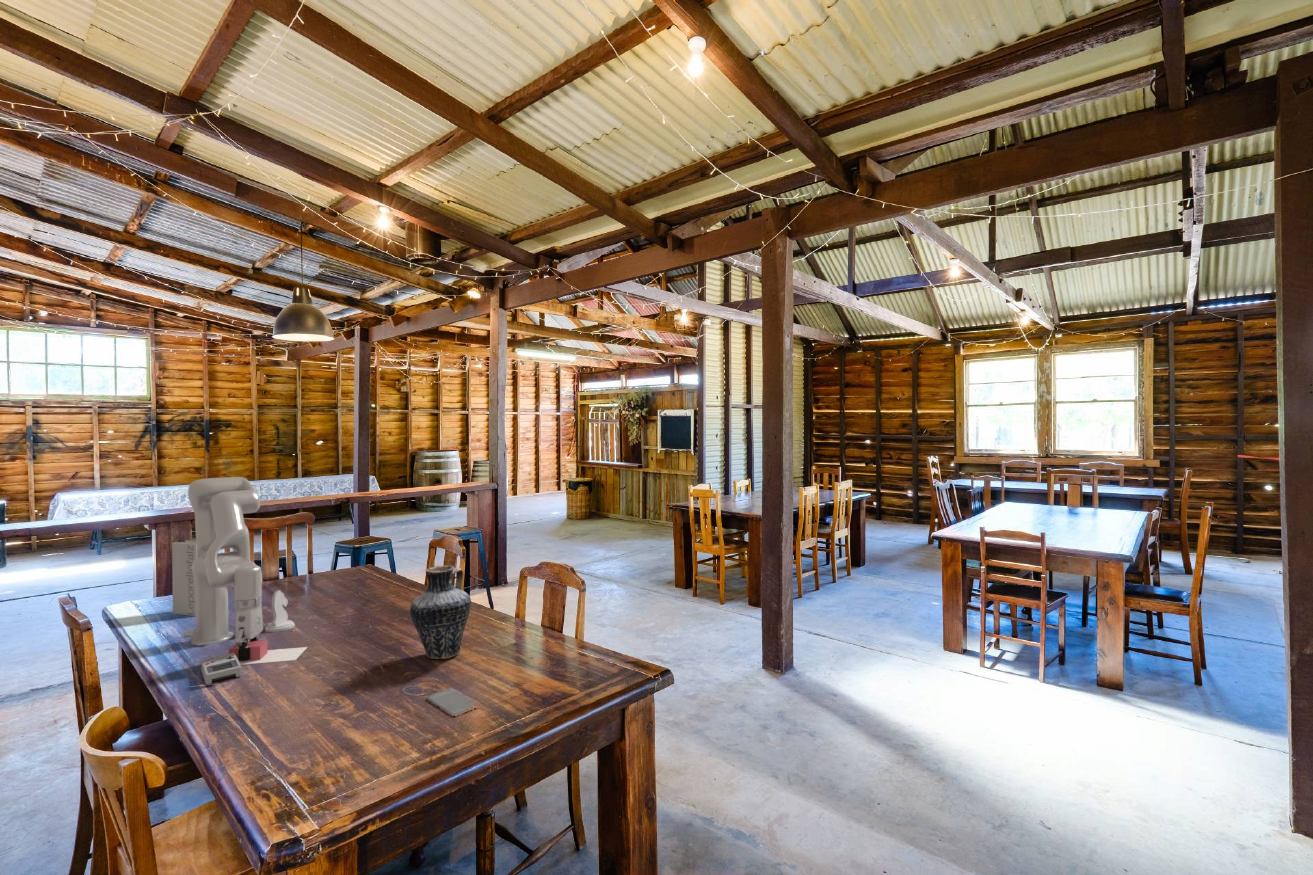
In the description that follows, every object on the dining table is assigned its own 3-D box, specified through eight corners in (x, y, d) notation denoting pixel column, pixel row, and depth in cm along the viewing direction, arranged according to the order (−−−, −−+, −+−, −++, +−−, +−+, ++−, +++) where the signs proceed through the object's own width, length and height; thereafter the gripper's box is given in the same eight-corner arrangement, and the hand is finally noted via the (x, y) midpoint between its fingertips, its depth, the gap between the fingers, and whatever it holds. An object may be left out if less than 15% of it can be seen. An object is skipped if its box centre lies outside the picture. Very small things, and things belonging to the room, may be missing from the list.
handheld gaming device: (235, 662, 191) (234, 651, 191) (242, 677, 181) (241, 665, 180) (201, 671, 185) (200, 659, 185) (206, 687, 174) (205, 674, 174)
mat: (219, 667, 189) (219, 666, 189) (236, 654, 200) (236, 652, 200) (295, 661, 194) (295, 659, 194) (307, 648, 206) (307, 646, 206)
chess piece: (300, 623, 232) (299, 586, 232) (284, 632, 222) (283, 593, 222) (276, 623, 232) (275, 586, 232) (258, 632, 223) (258, 593, 222)
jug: (451, 668, 187) (450, 576, 187) (398, 664, 191) (397, 573, 191) (483, 645, 208) (482, 562, 207) (434, 641, 212) (433, 559, 211)
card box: (229, 662, 192) (229, 648, 192) (237, 655, 198) (237, 642, 198) (260, 659, 194) (260, 646, 194) (267, 653, 200) (267, 640, 200)
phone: (452, 691, 172) (452, 687, 172) (481, 708, 161) (481, 704, 161) (426, 701, 166) (426, 696, 166) (454, 719, 155) (454, 714, 155)
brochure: (172, 613, 246) (171, 542, 246) (186, 609, 252) (185, 540, 251) (197, 616, 242) (196, 544, 242) (210, 612, 247) (209, 542, 247)
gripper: (249, 609, 188) (250, 664, 188) (271, 595, 205) (271, 645, 205) (223, 611, 186) (223, 667, 187) (246, 596, 203) (247, 647, 203)
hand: (248, 655), depth 196 cm, fingers closed on card box, 6 cm apart
